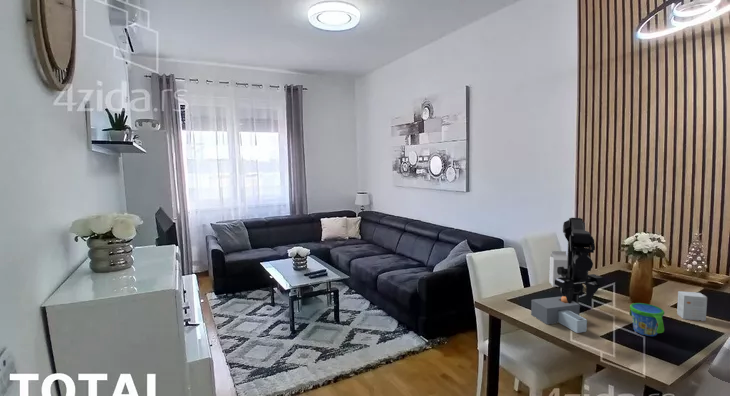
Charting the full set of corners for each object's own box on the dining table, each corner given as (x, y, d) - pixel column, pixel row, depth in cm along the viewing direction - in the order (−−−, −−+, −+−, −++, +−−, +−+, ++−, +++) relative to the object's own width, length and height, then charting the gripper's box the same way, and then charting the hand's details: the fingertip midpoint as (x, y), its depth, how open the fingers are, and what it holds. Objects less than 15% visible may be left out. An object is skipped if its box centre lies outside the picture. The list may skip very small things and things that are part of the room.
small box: (699, 316, 158) (700, 292, 157) (706, 321, 153) (707, 297, 151) (676, 313, 160) (677, 290, 159) (682, 319, 155) (684, 295, 154)
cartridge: (553, 312, 164) (553, 301, 163) (586, 331, 146) (586, 318, 145) (544, 313, 163) (544, 302, 162) (576, 333, 145) (577, 320, 144)
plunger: (566, 302, 162) (566, 295, 162) (572, 305, 159) (572, 298, 159) (559, 303, 162) (559, 296, 161) (565, 306, 158) (565, 299, 158)
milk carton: (567, 287, 196) (568, 253, 194) (553, 286, 197) (553, 252, 196) (562, 283, 203) (563, 249, 201) (549, 282, 204) (550, 249, 202)
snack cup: (673, 343, 136) (675, 316, 135) (642, 341, 137) (643, 315, 136) (648, 324, 151) (649, 300, 150) (620, 323, 153) (621, 299, 152)
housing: (562, 311, 166) (562, 296, 166) (579, 320, 156) (579, 304, 156) (531, 314, 163) (531, 299, 162) (546, 324, 153) (547, 308, 152)
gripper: (583, 257, 154) (582, 292, 156) (545, 260, 150) (544, 297, 152) (606, 264, 143) (604, 302, 145) (565, 268, 139) (564, 307, 141)
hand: (578, 302), depth 146 cm, fingers open, 8 cm apart
